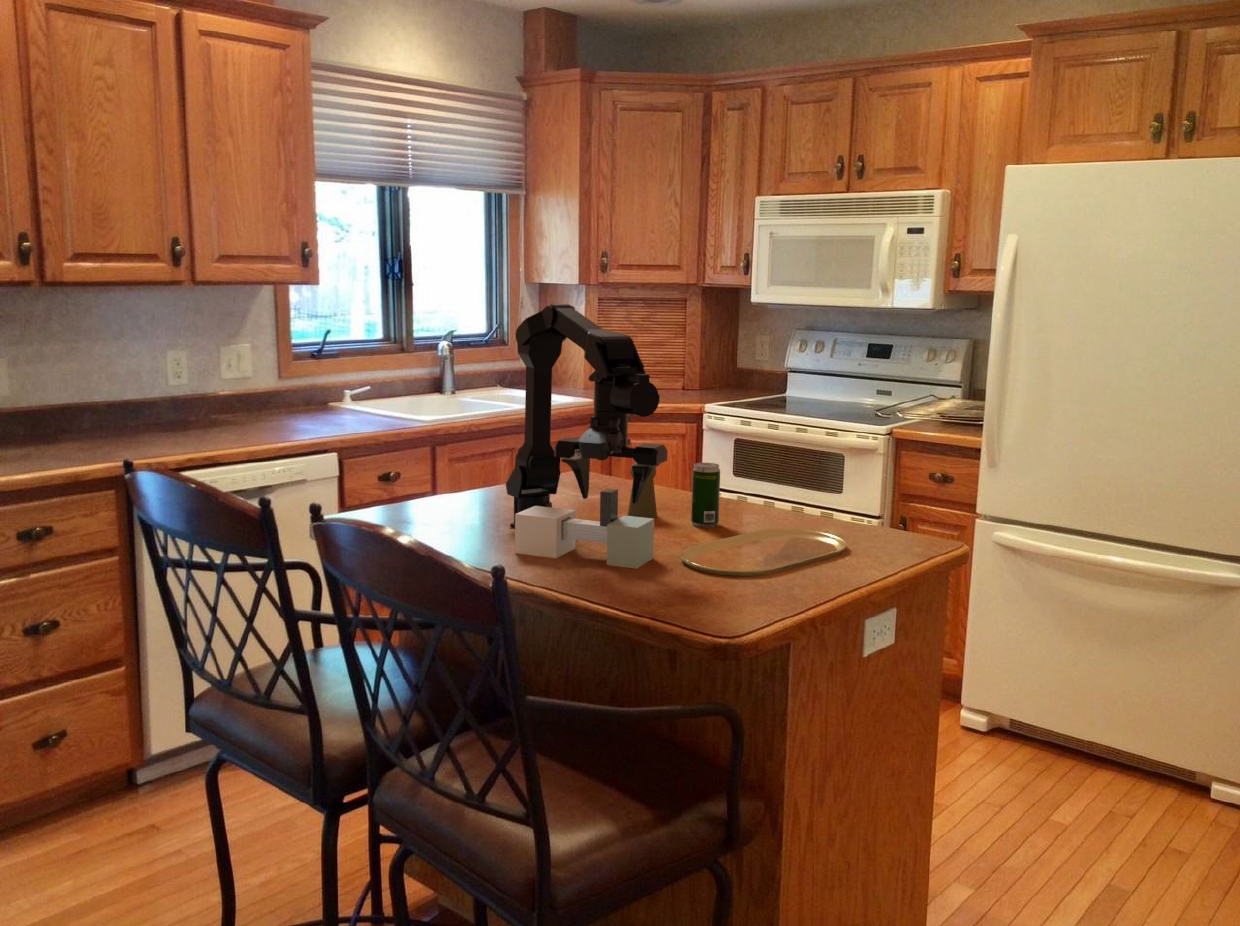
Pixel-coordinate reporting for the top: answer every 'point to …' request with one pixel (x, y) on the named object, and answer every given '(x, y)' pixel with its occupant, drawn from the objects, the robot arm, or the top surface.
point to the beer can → (705, 495)
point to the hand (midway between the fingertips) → (609, 500)
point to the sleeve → (542, 532)
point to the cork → (644, 499)
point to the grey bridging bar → (593, 529)
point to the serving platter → (758, 535)
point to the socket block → (630, 541)
